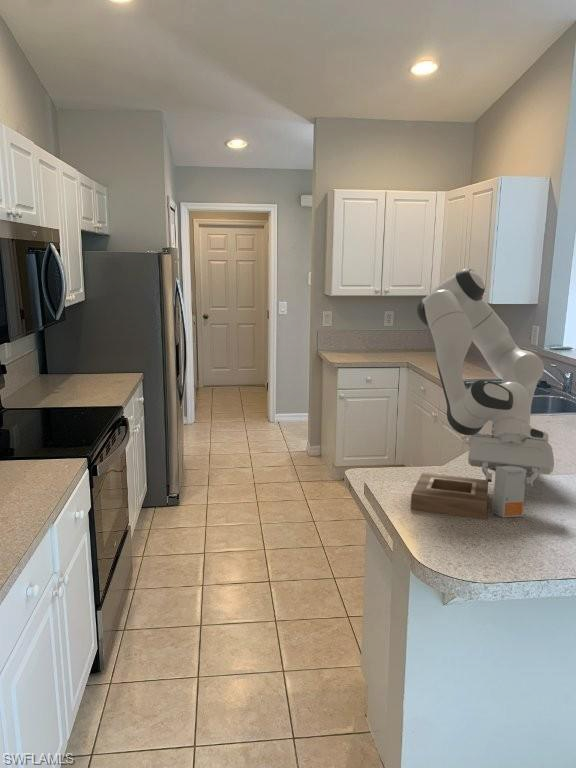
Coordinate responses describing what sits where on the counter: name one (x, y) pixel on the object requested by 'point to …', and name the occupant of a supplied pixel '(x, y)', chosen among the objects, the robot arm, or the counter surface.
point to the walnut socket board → (450, 495)
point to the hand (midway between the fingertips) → (508, 483)
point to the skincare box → (509, 491)
